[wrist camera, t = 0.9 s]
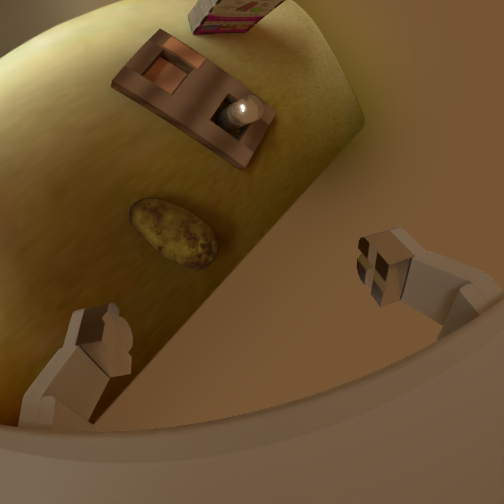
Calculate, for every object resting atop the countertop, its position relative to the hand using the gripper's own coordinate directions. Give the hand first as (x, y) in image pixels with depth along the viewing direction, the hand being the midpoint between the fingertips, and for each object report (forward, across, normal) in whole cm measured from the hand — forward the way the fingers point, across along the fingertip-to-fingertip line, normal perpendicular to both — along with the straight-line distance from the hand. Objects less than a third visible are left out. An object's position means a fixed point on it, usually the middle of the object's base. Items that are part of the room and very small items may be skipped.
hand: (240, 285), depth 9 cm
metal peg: (+42, -5, +3) cm, 42 cm away
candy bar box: (+49, -7, -16) cm, 52 cm away
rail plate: (+41, 0, -2) cm, 41 cm away
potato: (+32, +8, +14) cm, 36 cm away
